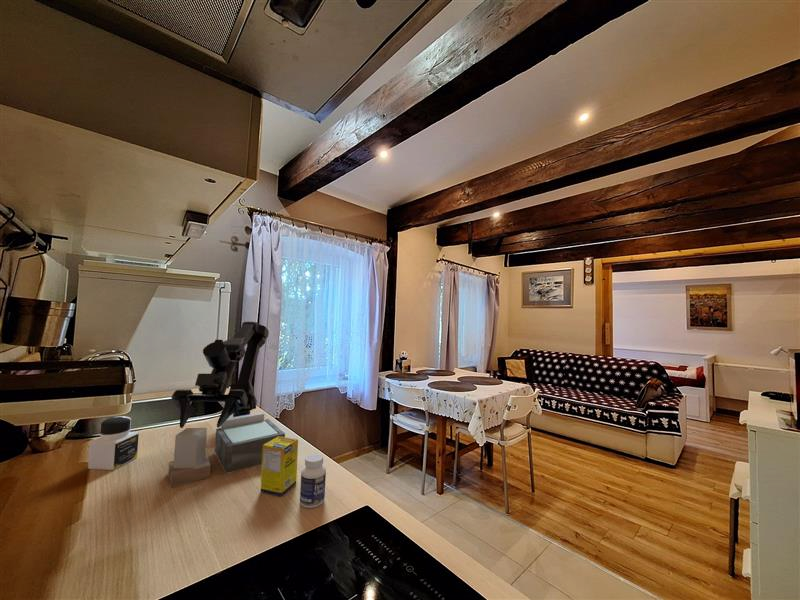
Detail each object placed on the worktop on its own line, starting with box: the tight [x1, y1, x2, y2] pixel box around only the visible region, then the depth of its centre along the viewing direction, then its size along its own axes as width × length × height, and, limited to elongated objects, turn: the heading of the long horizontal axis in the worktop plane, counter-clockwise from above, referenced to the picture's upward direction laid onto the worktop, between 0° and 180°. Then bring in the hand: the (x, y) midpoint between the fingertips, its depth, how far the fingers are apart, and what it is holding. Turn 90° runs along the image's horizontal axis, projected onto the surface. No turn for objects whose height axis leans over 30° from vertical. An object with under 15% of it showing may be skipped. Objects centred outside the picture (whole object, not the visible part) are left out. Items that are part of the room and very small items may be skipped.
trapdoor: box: [220, 411, 278, 444], centre depth 93 cm, size 15×12×3 cm
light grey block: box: [173, 427, 208, 469], centre depth 80 cm, size 5×5×8 cm
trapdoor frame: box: [214, 418, 286, 474], centre depth 91 cm, size 15×15×7 cm
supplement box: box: [260, 436, 299, 497], centre depth 75 cm, size 6×6×11 cm
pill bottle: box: [299, 453, 327, 509], centre depth 70 cm, size 5×5×10 cm
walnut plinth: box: [168, 453, 212, 488], centre depth 79 cm, size 8×8×3 cm
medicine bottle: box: [87, 415, 139, 471], centre depth 84 cm, size 7×7×12 cm
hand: (199, 427), depth 84 cm, fingers open, 9 cm apart
